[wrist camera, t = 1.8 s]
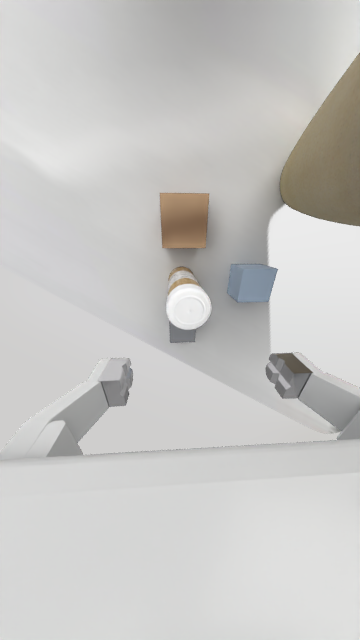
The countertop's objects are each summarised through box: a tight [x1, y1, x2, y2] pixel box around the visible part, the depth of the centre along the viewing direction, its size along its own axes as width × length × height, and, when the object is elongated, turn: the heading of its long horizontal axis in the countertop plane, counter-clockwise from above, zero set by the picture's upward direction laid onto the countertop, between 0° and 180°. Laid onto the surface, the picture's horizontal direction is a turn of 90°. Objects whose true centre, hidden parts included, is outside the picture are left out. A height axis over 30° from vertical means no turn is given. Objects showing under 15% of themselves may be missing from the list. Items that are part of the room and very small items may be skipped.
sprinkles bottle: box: [166, 267, 212, 330], centre depth 21 cm, size 5×5×13 cm
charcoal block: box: [169, 320, 196, 343], centre depth 29 cm, size 4×4×4 cm
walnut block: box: [160, 193, 209, 248], centre depth 21 cm, size 6×6×6 cm
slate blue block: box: [227, 264, 278, 302], centre depth 25 cm, size 5×5×5 cm
